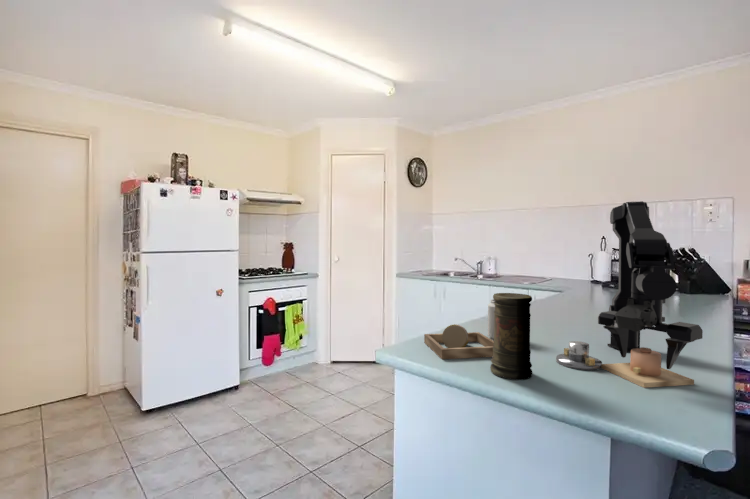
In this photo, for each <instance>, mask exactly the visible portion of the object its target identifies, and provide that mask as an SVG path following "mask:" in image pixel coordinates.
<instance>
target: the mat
mask: <svg viewBox="0 0 750 499" xmlns="http://www.w3.org/2000/svg"><path fill="white" fill-rule="evenodd" d="M601 369H602V370H604V371H606V370H607V371H606V372H608V371H609V373H611V374H613V375H615V376H617V375H618V376H617V377H619V376H620V377H619V378H623V379H624V380H626V381H629V382H631V383H632V384H635V385H637V386H639V387H642V388H644V389H645V388H657V387H658V388H661V387H674V386H691V385H692V386H693V385H695V379H693V378H690V377H688V376H685V375H683V374H679V373H677V372H674V371H671V370H670V369H667V368H663V367H661V375H659V376H647V375H642V374H638V373H635V372H633V371H631V370H630V362H619V363H618V362H617V363H615V362H614V363H602V364H601Z"/></svg>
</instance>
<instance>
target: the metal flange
mask: <svg viewBox="0 0 750 499" xmlns="http://www.w3.org/2000/svg"><path fill="white" fill-rule="evenodd" d="M555 361H556V363H557V364H558V363H559V365H560V364H561V366H562V365H563V367H565V366H566V368H569V367H570V368H569V369H573V368H574V369H575V370H578V369H581V371H598V370H597V369H599V370H601V369H602V368H601V364H603V361H602V360H600V359H599V358H596V357H594V356H590V344H589V343H588V342H584V341H580V340H571V341H569V342H568V347H565V348H563V353H560V354H557V355H556V356H555ZM574 369H573V370H574Z"/></svg>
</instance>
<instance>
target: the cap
mask: <svg viewBox="0 0 750 499" xmlns="http://www.w3.org/2000/svg"><path fill="white" fill-rule="evenodd" d="M629 360H630V362H629V363H630V370H631V371H633V372H635V373H638V374H642V375H647V376H659V375H661V368H662V353H661V352H658V351H656V350H652V348H649V347H644V346H643V347H640V349H631V351H630V359H629Z"/></svg>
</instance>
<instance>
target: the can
mask: <svg viewBox="0 0 750 499" xmlns="http://www.w3.org/2000/svg"><path fill="white" fill-rule="evenodd" d="M494 302H495V300H494V299H493V298H492V299H490V300H489V303H488V304H487V337H488V338H490V339H491V340H493V341H494V311H495V304H494Z"/></svg>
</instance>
